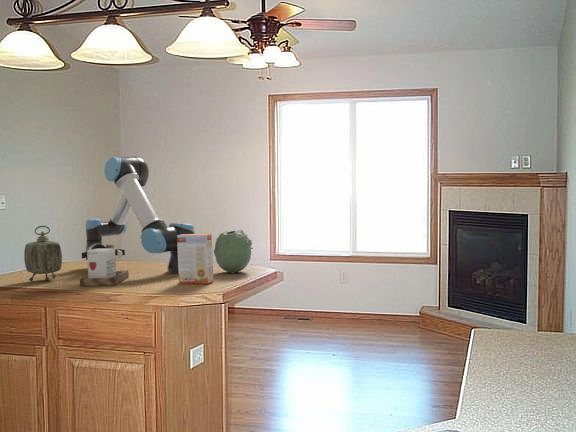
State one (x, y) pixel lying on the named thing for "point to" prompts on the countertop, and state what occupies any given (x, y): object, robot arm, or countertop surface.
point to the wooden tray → (105, 281)
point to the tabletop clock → (43, 256)
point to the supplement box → (101, 263)
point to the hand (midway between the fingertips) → (106, 255)
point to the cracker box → (195, 258)
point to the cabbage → (233, 251)
